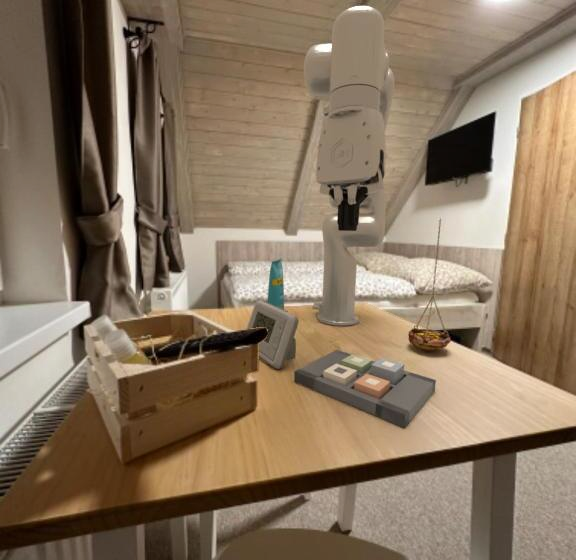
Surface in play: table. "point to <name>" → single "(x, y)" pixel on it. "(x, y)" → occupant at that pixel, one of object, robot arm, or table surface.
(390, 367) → the key slate
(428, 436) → the table surface
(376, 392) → the key terracotta
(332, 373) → the key ivory
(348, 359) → the key sage
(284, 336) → the digital clock
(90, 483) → the table surface
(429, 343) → the bird feeder
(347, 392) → the keypad frame
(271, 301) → the tube
